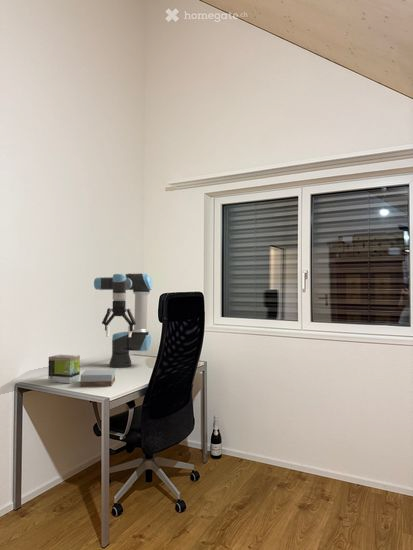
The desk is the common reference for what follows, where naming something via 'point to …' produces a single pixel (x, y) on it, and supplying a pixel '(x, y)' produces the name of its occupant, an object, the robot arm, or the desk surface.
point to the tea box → (64, 368)
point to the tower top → (97, 375)
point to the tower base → (97, 383)
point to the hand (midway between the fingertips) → (118, 336)
